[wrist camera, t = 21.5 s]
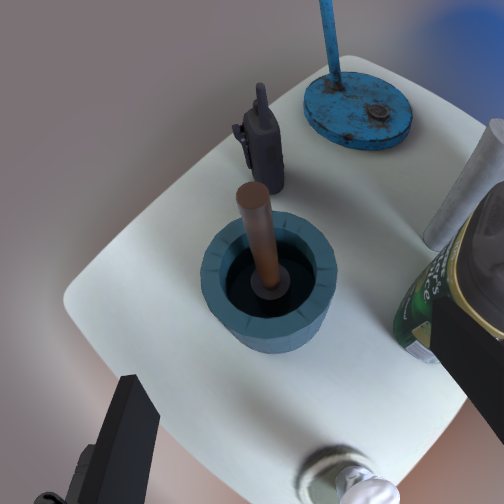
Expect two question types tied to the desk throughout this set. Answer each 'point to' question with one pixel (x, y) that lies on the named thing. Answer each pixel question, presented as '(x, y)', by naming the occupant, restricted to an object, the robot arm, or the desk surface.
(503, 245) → the coffee jar
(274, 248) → the rod with cylinder end
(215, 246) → the teal pencil cup
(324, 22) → the desk lamp
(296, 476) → the desk surface
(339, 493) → the milkshake
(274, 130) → the two-way radio
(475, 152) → the hip flask
